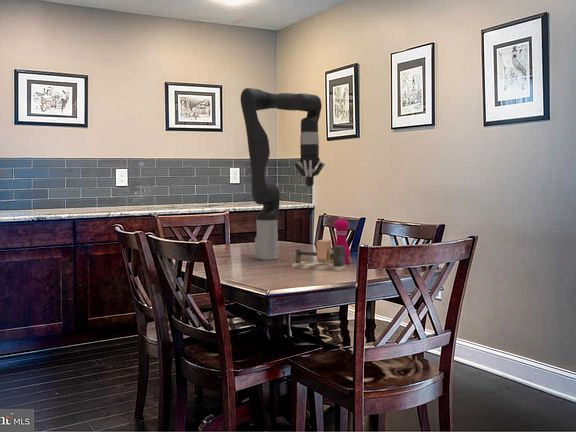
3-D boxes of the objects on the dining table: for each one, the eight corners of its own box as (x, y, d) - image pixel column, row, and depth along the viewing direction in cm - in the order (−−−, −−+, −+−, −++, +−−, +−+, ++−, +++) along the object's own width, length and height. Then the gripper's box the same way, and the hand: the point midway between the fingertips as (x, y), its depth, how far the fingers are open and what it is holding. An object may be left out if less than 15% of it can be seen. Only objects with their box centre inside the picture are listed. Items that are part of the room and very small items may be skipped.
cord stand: (292, 267, 224) (292, 245, 223) (300, 265, 230) (300, 243, 230) (339, 271, 215) (339, 247, 214) (346, 268, 221) (346, 245, 220)
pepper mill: (349, 264, 230) (349, 215, 229) (331, 264, 232) (331, 215, 230) (351, 262, 237) (350, 214, 236) (333, 261, 239) (333, 214, 237)
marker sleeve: (317, 260, 220) (316, 240, 220) (322, 259, 224) (322, 239, 224) (326, 261, 218) (326, 241, 218) (331, 259, 222) (331, 240, 222)
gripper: (290, 144, 231) (291, 186, 232) (320, 142, 225) (320, 186, 226) (299, 144, 237) (299, 186, 238) (328, 143, 231) (328, 186, 232)
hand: (309, 186), depth 232 cm, fingers closed
